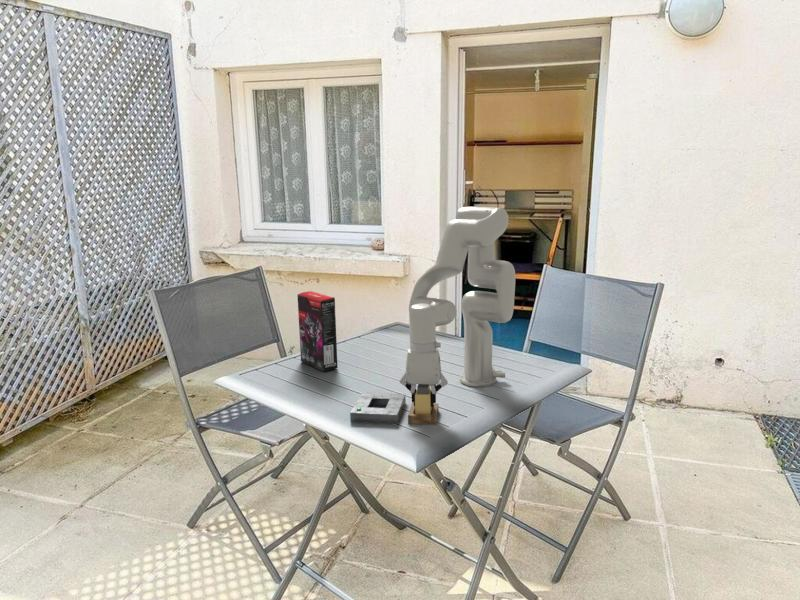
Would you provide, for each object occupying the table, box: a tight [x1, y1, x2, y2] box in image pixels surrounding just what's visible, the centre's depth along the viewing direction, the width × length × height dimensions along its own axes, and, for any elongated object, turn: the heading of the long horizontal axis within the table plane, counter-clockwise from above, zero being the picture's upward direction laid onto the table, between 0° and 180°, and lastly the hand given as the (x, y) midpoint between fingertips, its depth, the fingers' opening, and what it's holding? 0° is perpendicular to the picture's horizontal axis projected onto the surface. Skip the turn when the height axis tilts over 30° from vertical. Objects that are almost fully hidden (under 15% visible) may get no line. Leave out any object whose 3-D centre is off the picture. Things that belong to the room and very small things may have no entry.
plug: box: [415, 384, 433, 415], centre depth 178 cm, size 4×6×10 cm
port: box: [349, 391, 407, 425], centre depth 183 cm, size 14×16×3 cm
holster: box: [407, 402, 440, 426], centre depth 179 cm, size 8×10×2 cm
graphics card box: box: [296, 290, 338, 372], centre depth 223 cm, size 17×7×27 cm, turn 40°
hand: (423, 404), depth 178 cm, fingers closed on plug, 4 cm apart
